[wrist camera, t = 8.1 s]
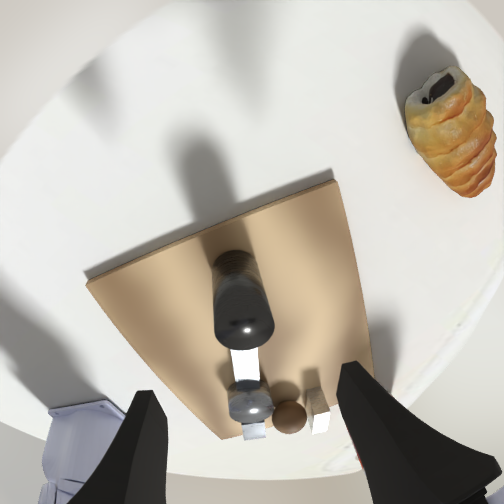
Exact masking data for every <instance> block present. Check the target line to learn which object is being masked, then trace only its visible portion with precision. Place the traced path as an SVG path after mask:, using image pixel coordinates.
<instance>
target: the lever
mask: <svg viewBox="0 0 504 504" xmlns="http://www.w3.org/2000/svg"><path fill="white" fill-rule="evenodd" d="M212 294H213V317H214V333H215V337H216V339H217V340H218V342H219V343H220V344H222V345H223V346H225V347H226V348H229V349H231V356H232V362H233V368H234V375H235V381H236V382H235V383H233V384H232V385H231V386H230V387H229V388H228V390H227V398H228V407H229V415H230V417H231V418H232V419H233V420H234V421H237V422H240V423H241V426H242V431H243V437H244V440H251V439H259V438H266V433H265V419H267V418H268V417H270V416H271V415H272V413H273V412H274V406H273V401H272V397H271V392H270V388H269V385H268V384H267V383H266V382H265V381H263V380H260V379H259V368H258V354H257V348H258V347H260V346H262V345H263V344H265V343H266V342H267V341H268V340H269V339H270V338H271V336H272V335H273V333H274V329H275V323H274V319H273V316H272V312H271V309H270V305H269V302H268V299H267V295H266V292H265V288H264V285H263V281H262V278H261V274H260V271H259V268H258V264H257V262H256V260H255V258H254V257H253V256H252V255H251V254H249V253H247V252H245V251H241V250H231V251H227V252H225V253H223V254H221V255H220V256H219V257H217V259H216V260H215V261H214V263H213V266H212Z"/></svg>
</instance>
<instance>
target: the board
mask: <svg viewBox="0 0 504 504" xmlns="http://www.w3.org/2000/svg"><path fill="white" fill-rule="evenodd" d="M231 250H241V251H245V252H247V253H249V254H251V255H252V256H253V257H254V258H255V260H256V262H257V264H258V268H259V271H260V274H261V278H262V281H263V285H264V288H265V292H266V295H267V299H268V302H269V305H270V309H271V312H272V316H273V319H274V323H275V329H274V333H273V335H272V336H271V338H270V339H269V340H268V341H267V342H266V343H265V344H263V345H262V346H260V347H258V348H257V354H258V368H259V379H260V380H263V381H265V382H266V383H267V384H268V385H269V388H270V392H271V397H272V401H273V406H274V409H275V408H276V406H277V405H279V404H280V403H282V402H285V401H295V402H298V403H299V404H301V405H302V406H303V407H304V408H305V402H306V389H311V388H315V387H320V386H321V387H322V390H323V393H324V395H325V398H326V401H327V404H328V406H329V407H331V406H333V405H336V404H338V400H337V397H336V391H337V386H338V381H339V376H340V371H341V366H342V364H343V363H347V362H352V361H356V360H357V361H358V362H359V363H360V364H361V365H362V366H363V367H364V368H365V369H366V370H367V372H368V373H369V374H370V375H371V376H372V377H373V378H374V379H375V377H374V369H373V360H372V352H371V345H370V338H369V331H368V324H367V318H366V312H365V306H364V300H363V294H362V288H361V283H360V278H359V273H358V267H357V263H356V258H355V253H354V248H353V244H352V239H351V235H350V230H349V226H348V222H347V217H346V213H345V209H344V205H343V201H342V197H341V193H340V189H339V186H338V182H337V181H336V180H334V179H333V180H330V181H327V182H325V183H322V184H319V185H317V186H314V187H311V188H309V189H306V190H303V191H301V192H298V193H295V194H293V195H290V196H288V197H285V198H282V199H280V200H277V201H275V202H272V203H269V204H267V205H264V206H262V207H259V208H257V209H254V210H252V211H249V212H247V213H244V214H242V215H239V216H237V217H234V218H232V219H229V220H227V221H224V222H222V223H219V224H217V225H214V226H212V227H210V228H207V229H205V230H202V231H200V232H197V233H195V234H193V235H190V236H188V237H186V238H183V239H181V240H178V241H176V242H174V243H171V244H169V245H167V246H164V247H162V248H160V249H157V250H155V251H153V252H150V253H148V254H146V255H144V256H141V257H139V258H137V259H134V260H132V261H130V262H128V263H125V264H123V265H121V266H119V267H117V268H114V269H112V270H110V271H108V272H105V273H103V274H101V275H99V276H97V277H94V278H92V279H90V280H88V281H87V283H86V285H85V286H86V287H87V288H88V290H89V291H90V293H91V294H92V296H93V297H94V298H95V300H96V301H97V302H98V304H99V305H100V307H101V308H102V309H103V311H104V312H105V313H106V315H107V316H108V317H109V319H110V320H111V321H112V322H113V324H114V325H115V326H116V328H117V329H118V330H119V331H120V333H121V334H122V335H123V336H124V338H125V339H126V340H127V341H128V343H129V344H130V345H131V346H132V347H133V349H134V350H135V351H136V352H137V353H138V355H139V356H140V357H141V358H142V359H143V360H144V362H145V363H146V364H147V365H148V366H149V367H150V368H151V370H152V371H153V372H154V373H155V374H156V375H157V376H158V377H159V378H160V380H161V381H162V382H163V383H164V384H165V385H166V386H167V387H168V388H169V389H170V390H171V391H172V392H173V393H174V394H175V396H176V397H177V398H178V399H179V400H180V401H181V402H182V403H183V404H184V405H185V406H186V407H187V408H188V409H189V410H190V411H191V412H192V413H193V414H194V415H195V416H196V417H197V418H198V419H200V420H201V421H202V422H203V423H204V424H205V425H206V426H207V427H208V428H209V429H210V430H211V431H212V432H213V433H214V434H216V435H217V436H218V437H219V438H220V439H221V440H223V439H228V438H232V437H236V436H240V435H243V431H242V426H241V423H240V422H237V421H234V420H233V419H232V418H231V417H230V415H229V407H228V398H227V390H228V388H229V387H230V386H231V385H232V384H233V383H235V382H236V381H235V375H234V368H233V362H232V356H231V349H229V348H226V347H225V346H223V345H222V344H220V343H219V342H218V340H217V339H216V337H215V333H214V317H213V294H212V266H213V263H214V261H215V260H216V259H217V257H219V256H220V255H221V254H223V253H225V252H227V251H231ZM272 426H274V425H273V423H272V415H271V416H270V417H268V418H267V419H265V429H266V428H269V427H272Z"/></svg>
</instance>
